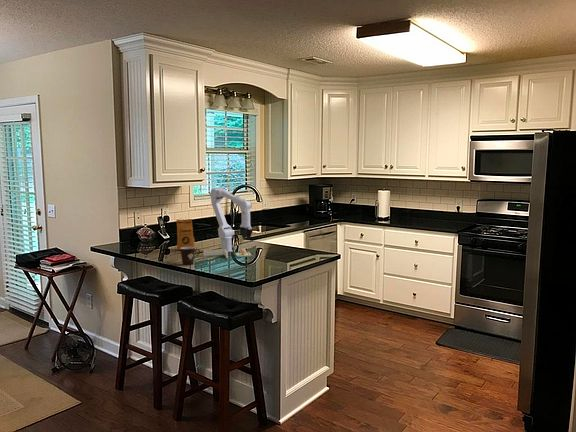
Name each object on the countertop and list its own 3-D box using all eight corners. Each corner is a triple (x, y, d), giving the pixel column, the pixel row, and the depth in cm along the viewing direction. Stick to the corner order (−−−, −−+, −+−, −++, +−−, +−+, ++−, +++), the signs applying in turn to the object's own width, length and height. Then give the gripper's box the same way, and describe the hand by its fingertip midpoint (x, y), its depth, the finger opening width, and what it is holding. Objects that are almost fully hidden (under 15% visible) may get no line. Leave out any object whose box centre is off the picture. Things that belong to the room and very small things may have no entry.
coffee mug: (180, 266, 279) (180, 249, 278) (180, 263, 287) (180, 247, 286) (200, 264, 281) (200, 248, 280) (200, 262, 290) (199, 246, 289)
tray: (235, 254, 313) (235, 253, 313) (249, 253, 316) (249, 252, 315) (237, 256, 304) (237, 255, 304) (251, 256, 307) (251, 254, 307)
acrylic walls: (203, 255, 310) (203, 250, 309) (225, 254, 313) (225, 249, 313) (205, 259, 297) (204, 254, 297) (227, 258, 301) (227, 252, 300)
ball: (239, 254, 311) (239, 248, 311) (245, 254, 312) (245, 248, 312) (240, 255, 308) (240, 249, 307) (246, 255, 308) (246, 249, 308)
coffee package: (194, 250, 328) (193, 219, 326) (176, 251, 326) (175, 220, 324) (195, 248, 338) (194, 217, 336) (177, 249, 336) (176, 218, 333)
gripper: (236, 218, 318) (236, 238, 319) (244, 220, 305) (244, 241, 306) (246, 217, 321) (246, 237, 322) (254, 219, 308) (254, 240, 309)
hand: (246, 239), depth 314 cm, fingers open, 7 cm apart
